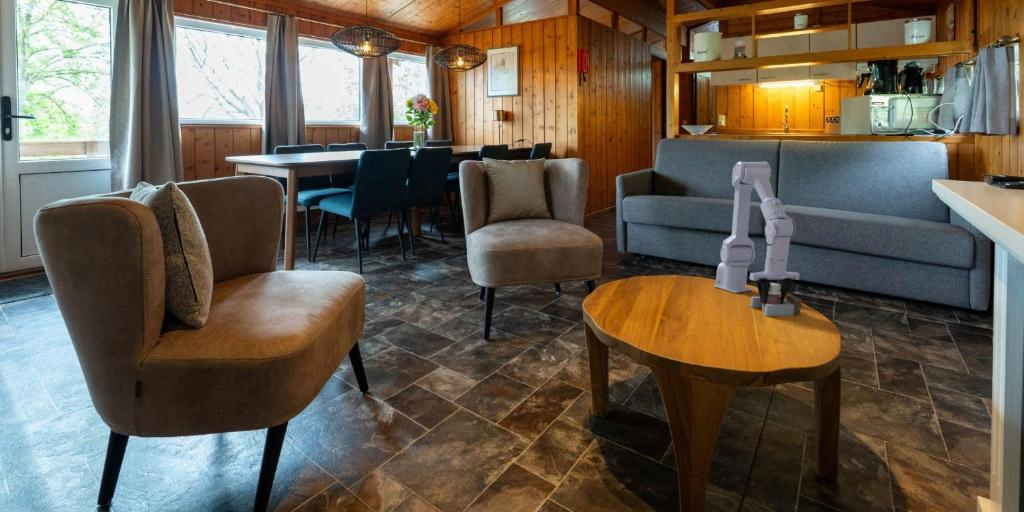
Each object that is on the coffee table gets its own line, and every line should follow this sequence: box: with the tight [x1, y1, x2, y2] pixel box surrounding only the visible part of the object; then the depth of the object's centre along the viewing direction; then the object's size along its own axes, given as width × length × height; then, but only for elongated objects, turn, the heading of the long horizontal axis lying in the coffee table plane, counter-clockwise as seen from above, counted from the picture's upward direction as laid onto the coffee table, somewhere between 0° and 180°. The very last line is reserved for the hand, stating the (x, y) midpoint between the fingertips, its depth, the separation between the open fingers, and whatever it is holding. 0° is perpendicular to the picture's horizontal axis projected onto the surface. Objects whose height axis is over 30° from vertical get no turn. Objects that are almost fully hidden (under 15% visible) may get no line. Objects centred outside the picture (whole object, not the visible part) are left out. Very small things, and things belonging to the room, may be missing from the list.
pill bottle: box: [761, 282, 781, 312], centre depth 161 cm, size 5×5×8 cm
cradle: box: [749, 296, 795, 317], centre depth 162 cm, size 8×9×3 cm
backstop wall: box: [784, 292, 803, 317], centre depth 162 cm, size 2×9×5 cm, turn 6°
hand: (771, 302), depth 162 cm, fingers closed on pill bottle, 5 cm apart
